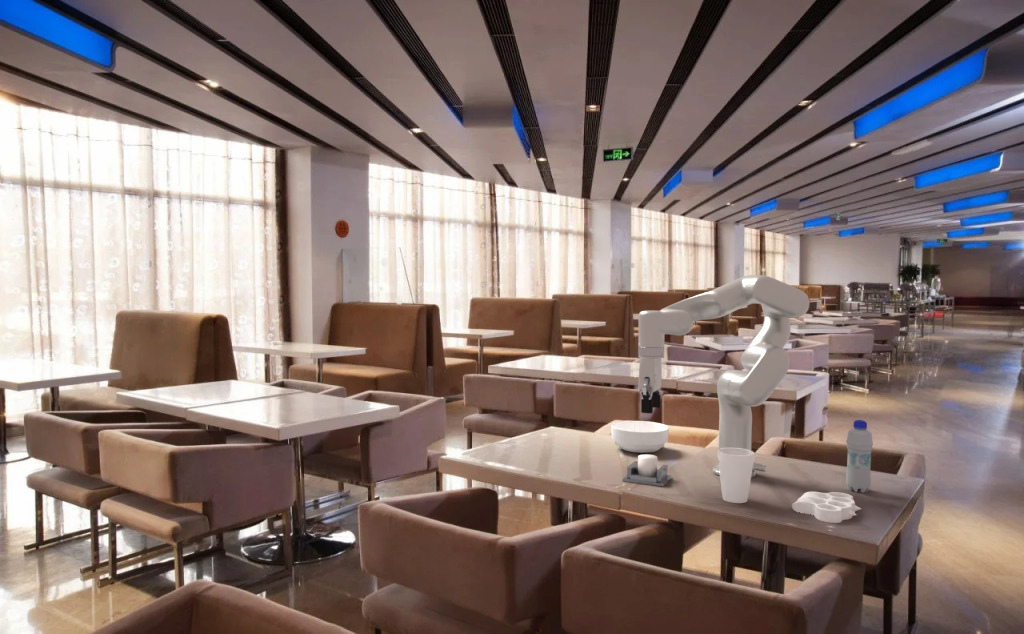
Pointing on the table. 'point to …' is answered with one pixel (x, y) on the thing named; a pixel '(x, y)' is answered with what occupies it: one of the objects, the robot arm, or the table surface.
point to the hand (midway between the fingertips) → (651, 410)
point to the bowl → (639, 435)
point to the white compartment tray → (827, 506)
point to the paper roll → (647, 465)
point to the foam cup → (735, 473)
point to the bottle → (859, 457)
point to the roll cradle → (635, 478)
